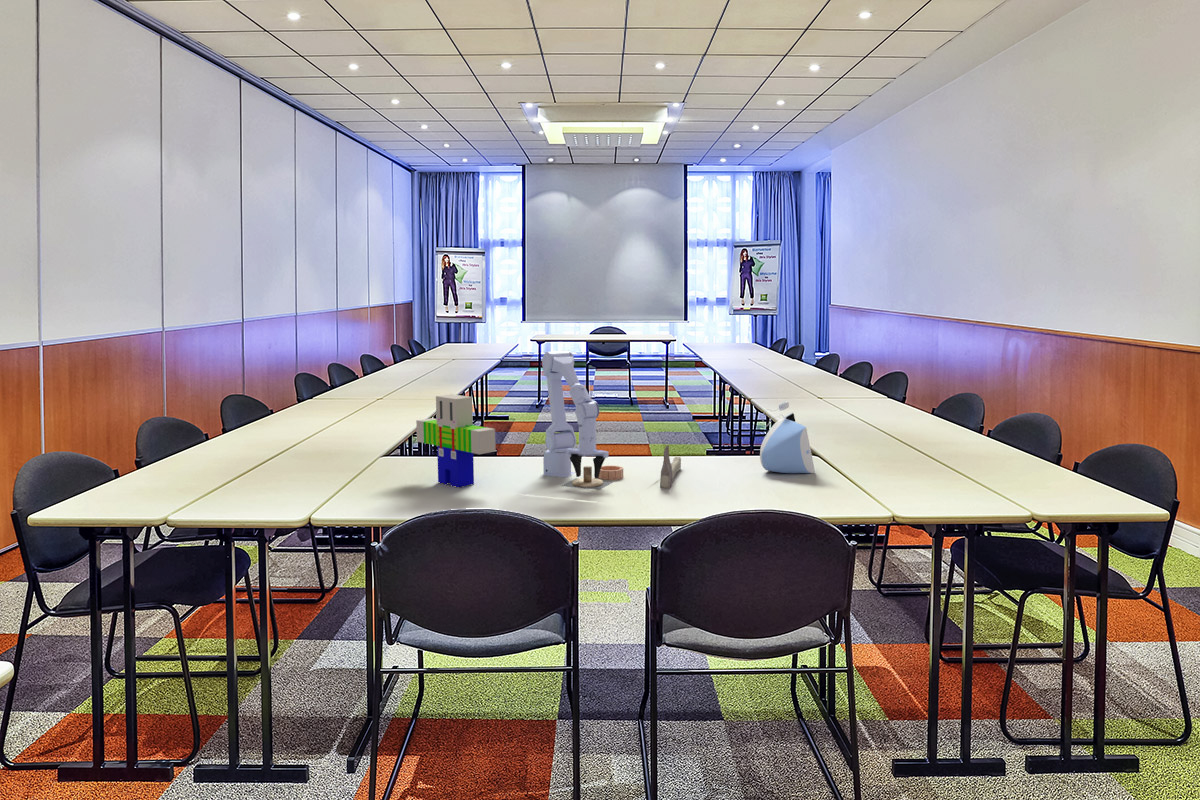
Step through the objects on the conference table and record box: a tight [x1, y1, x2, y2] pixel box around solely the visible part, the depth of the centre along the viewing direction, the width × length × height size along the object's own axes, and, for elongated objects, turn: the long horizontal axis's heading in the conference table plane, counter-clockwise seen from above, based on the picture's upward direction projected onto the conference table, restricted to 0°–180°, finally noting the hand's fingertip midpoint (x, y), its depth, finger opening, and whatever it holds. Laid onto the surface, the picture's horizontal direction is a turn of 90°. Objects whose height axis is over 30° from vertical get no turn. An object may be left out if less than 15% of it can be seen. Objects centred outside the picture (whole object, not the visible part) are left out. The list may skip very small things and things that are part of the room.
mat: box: [561, 477, 614, 490], centre depth 305 cm, size 14×12×1 cm
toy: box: [415, 393, 496, 488], centre depth 306 cm, size 34×7×30 cm, turn 47°
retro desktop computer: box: [759, 400, 816, 474], centre depth 326 cm, size 25×23×17 cm
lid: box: [571, 465, 604, 488], centre depth 304 cm, size 10×10×6 cm
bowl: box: [598, 465, 624, 481], centre depth 315 cm, size 9×9×4 cm
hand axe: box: [659, 444, 682, 490], centre depth 314 cm, size 35×3×14 cm, turn 167°
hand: (587, 477), depth 304 cm, fingers open, 6 cm apart
